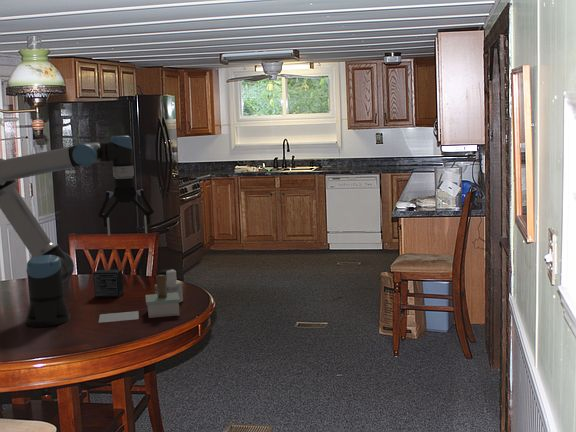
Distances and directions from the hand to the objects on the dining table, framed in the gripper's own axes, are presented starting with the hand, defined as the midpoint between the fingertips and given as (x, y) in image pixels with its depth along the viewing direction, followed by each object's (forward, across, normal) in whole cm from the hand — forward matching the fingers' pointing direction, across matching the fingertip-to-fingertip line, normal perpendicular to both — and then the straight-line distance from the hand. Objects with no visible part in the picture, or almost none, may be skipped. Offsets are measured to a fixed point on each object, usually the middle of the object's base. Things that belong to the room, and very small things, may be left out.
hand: (127, 234), depth 290 cm
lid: (+24, +11, -11) cm, 28 cm away
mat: (+29, -5, -11) cm, 31 cm away
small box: (+29, -9, +27) cm, 41 cm away
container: (+29, +14, +5) cm, 33 cm away
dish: (+29, +11, -11) cm, 33 cm away
